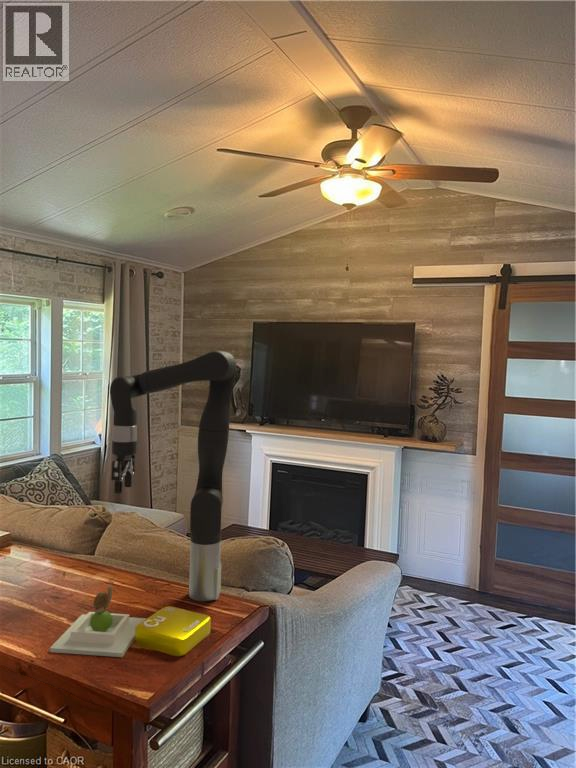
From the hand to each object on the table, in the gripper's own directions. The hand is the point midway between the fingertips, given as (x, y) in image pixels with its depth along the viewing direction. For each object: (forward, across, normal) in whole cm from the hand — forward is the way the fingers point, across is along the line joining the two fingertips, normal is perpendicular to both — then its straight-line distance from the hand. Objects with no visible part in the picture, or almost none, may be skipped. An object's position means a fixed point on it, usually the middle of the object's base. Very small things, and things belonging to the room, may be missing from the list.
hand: (123, 490), depth 173 cm
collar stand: (+30, -33, -7) cm, 45 cm away
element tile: (+31, -31, -26) cm, 50 cm away
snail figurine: (+29, -32, -7) cm, 44 cm away
